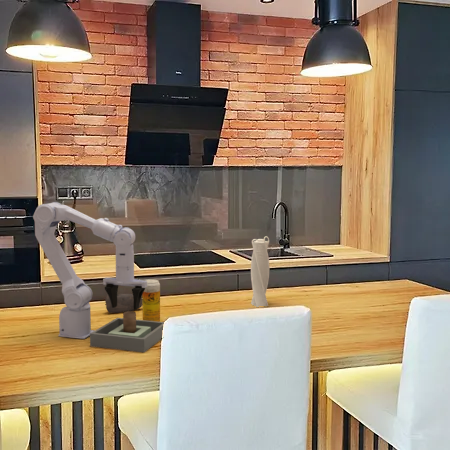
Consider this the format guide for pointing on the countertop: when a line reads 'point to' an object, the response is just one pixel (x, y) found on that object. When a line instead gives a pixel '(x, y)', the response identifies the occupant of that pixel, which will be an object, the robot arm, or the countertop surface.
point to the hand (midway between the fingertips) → (125, 307)
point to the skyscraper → (259, 271)
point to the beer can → (151, 301)
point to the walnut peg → (129, 322)
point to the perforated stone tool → (122, 303)
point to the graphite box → (125, 342)
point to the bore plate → (140, 333)
